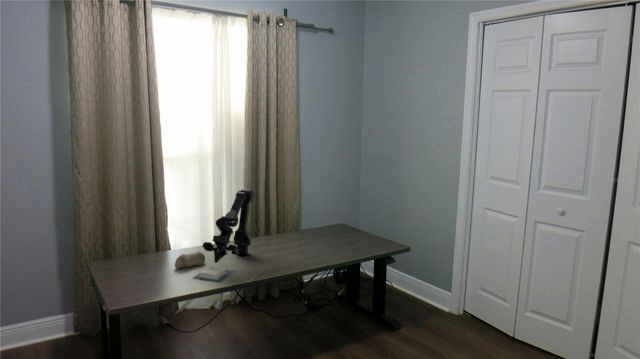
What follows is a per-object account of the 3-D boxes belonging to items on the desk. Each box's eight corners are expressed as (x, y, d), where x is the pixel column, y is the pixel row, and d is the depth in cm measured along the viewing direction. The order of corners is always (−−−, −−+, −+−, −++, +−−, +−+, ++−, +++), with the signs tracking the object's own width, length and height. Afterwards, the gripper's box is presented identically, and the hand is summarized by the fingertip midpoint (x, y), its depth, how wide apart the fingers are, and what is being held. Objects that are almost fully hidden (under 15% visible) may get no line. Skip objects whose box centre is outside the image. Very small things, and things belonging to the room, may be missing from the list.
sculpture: (169, 261, 242) (175, 251, 236) (198, 254, 254) (204, 244, 248) (176, 274, 239) (182, 265, 233) (204, 267, 251) (210, 257, 245)
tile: (208, 265, 236) (199, 272, 226) (225, 268, 234) (217, 274, 224) (208, 271, 237) (199, 277, 227) (225, 273, 234) (217, 280, 225)
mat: (208, 267, 243) (208, 266, 243) (235, 271, 240) (235, 270, 239) (191, 279, 226) (191, 278, 226) (220, 283, 222) (220, 282, 222)
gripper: (204, 227, 237) (193, 253, 228) (236, 230, 233) (227, 257, 224) (211, 237, 246) (201, 263, 237) (242, 241, 242) (233, 267, 233)
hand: (215, 262), depth 233 cm, fingers closed
